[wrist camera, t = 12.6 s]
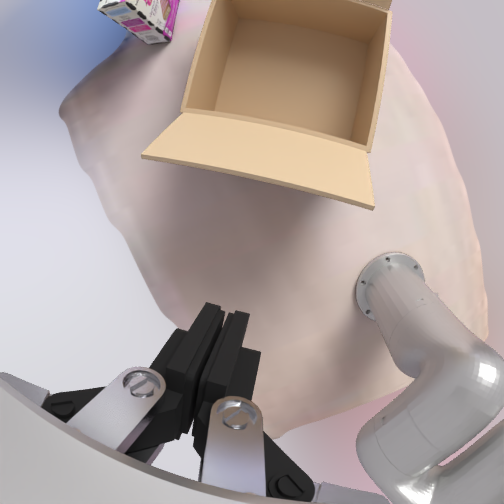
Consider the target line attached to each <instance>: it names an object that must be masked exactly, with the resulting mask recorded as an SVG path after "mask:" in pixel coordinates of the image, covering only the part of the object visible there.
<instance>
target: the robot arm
mask: <svg viewBox="0 0 504 504" xmlns="http://www.w3.org/2000/svg"><path fill="white" fill-rule="evenodd" d="M387 257H388V259H386V258H387ZM414 266H415V267H414ZM361 281H363V282H361ZM356 299H357V302H358V305H359V307H360V309H361V311H362V312H363V313H364V315H365V316H367V317H368V318H370V319H371V320H374V321H376V322H377V324H378V326H379V329H380V331H381V333H382V335H383V338H384V340H385V342H386V344H387V347H388V349H389V351H390V354H391V356H392V359H393V361H394V363H395V365H396V366H397V367H398V369H399V370H400V371H402V372H403V373H404V374H406V375H408V376H410V377H412V378H415V380H414V381H413V382H412V383H411V384H410V385H409V386H408V387H407V388H406V389H405V390H404V391H403V392H402V393H401V394H400V395H398V396H397V397H396V398H395V399H394V400H393V401H392V402H390V403H389V404H388V405H387V406H386V407H384V408H383V409H382V410H381V411H380V412H379V413H377V414H376V415H375V416H374V417H372V419H370V420H369V421H368V422H367V423H366V424H365V425H364V426H363V427H362V428H361V430H360V431H359V433H358V435H357V439H356V451H357V455H358V458H359V460H360V463H361V464H362V466H363V468H364V470H365V471H366V473H367V474H368V475H369V477H370V478H371V479H372V480H373V481H374V482H375V484H376V485H377V486H378V487H379V488H380V489H381V491H382V492H383V493H384V494H385V495H386V496H387V498H388V499H389V500H390V501H391V502H392V503H393V504H504V419H503V420H502V421H500V422H499V423H498V424H497V425H495V426H494V427H493V428H492V429H491V430H489V431H488V432H487V433H486V434H485V435H483V436H482V437H481V438H480V439H479V440H477V441H476V442H475V443H474V444H473V445H471V446H470V447H469V448H468V449H467V450H465V451H464V452H462V453H461V454H460V455H458V457H456V458H455V459H453V460H452V461H450V462H449V463H448V464H446V465H444V466H439V465H438V464H439V463H441V462H442V461H443V460H445V459H446V458H448V457H449V456H450V455H452V454H453V453H455V452H456V451H458V450H459V449H460V448H462V447H463V446H464V445H465V444H466V443H468V442H469V441H470V440H471V439H473V438H474V437H475V436H476V435H477V434H479V433H480V432H481V431H482V430H483V429H484V428H485V427H486V426H487V425H488V424H489V423H490V422H491V421H492V420H493V419H494V418H495V417H496V416H497V415H498V413H499V412H500V411H501V409H502V408H503V407H504V360H503V358H502V357H501V356H500V355H499V354H498V353H497V352H496V351H495V350H494V349H493V348H491V347H490V346H489V345H487V344H486V343H485V342H484V341H482V340H481V339H480V338H478V337H477V336H476V335H475V334H474V333H472V332H471V331H470V330H469V329H468V328H467V327H466V326H465V325H464V324H463V323H462V322H461V321H460V320H459V319H458V318H457V317H456V316H455V315H454V314H453V312H452V311H451V310H450V309H449V308H448V307H447V306H446V305H445V304H444V303H443V302H442V300H441V299H440V298H439V297H438V293H434V292H433V291H432V290H431V289H430V288H429V287H428V286H427V285H426V283H425V277H424V273H423V270H422V268H421V266H420V265H419V264H418V263H417V261H416V260H414V259H413V258H412V257H410V256H409V255H407V254H404V253H400V252H391V253H386V254H383V255H380V256H378V257H377V258H375V259H373V260H372V261H371V262H370V263H368V265H367V266H366V267H365V268H364V269H363V271H362V272H361V274H360V276H359V279H358V281H357V285H356ZM220 309H221V306H218V305H215V304H211V303H207V302H206V303H205V305H204V307H203V308H202V310H201V311H200V313H199V315H198V316H197V318H196V319H195V321H194V323H193V324H192V326H191V328H190V329H189V331H185V330H181V329H178V328H177V329H176V330H175V331H174V333H173V334H172V335H171V337H170V338H169V340H168V341H167V342H166V344H165V345H164V347H163V348H162V350H161V351H160V353H159V354H158V356H157V357H156V358H155V360H154V361H153V363H152V365H151V366H150V367H149V368H145V367H133V368H129V369H127V370H125V371H124V372H122V373H121V374H120V375H119V376H118V377H117V378H116V379H114V380H113V381H112V382H111V383H110V384H109V385H108V386H106V387H99V388H93V389H85V390H77V391H69V392H60V393H56V394H53V395H52V394H50V393H49V390H46V389H44V388H41V387H38V386H36V385H34V384H31V383H29V382H26V381H24V380H22V379H19V378H17V377H15V376H13V375H11V374H8V373H4V372H2V373H0V504H390V503H389V501H388V499H386V498H385V497H384V496H382V495H379V494H377V493H371V492H366V491H360V490H356V489H351V488H347V487H342V486H338V485H334V484H330V483H326V482H322V483H321V484H319V483H316V482H313V481H312V480H311V479H310V477H309V476H308V475H307V474H306V473H305V472H304V471H303V470H301V468H299V466H297V465H296V464H295V463H294V462H293V461H292V460H291V459H290V458H289V457H288V456H287V455H286V454H285V453H284V452H283V451H282V450H281V449H280V448H279V447H278V446H277V445H276V444H275V443H274V442H273V440H272V439H271V438H270V437H269V436H268V435H267V434H266V433H265V432H264V431H263V417H262V413H261V411H260V409H259V408H258V406H257V405H255V404H254V403H253V402H252V401H251V400H252V395H253V390H254V385H255V380H256V376H257V371H258V366H259V361H260V355H261V352H260V351H256V350H252V349H248V348H244V347H242V343H243V339H244V335H245V332H246V328H247V324H248V320H249V315H250V314H248V313H244V312H240V311H237V310H236V311H235V313H234V314H233V313H229V314H228V316H227V318H226V321H225V323H224V325H223V321H224V316H225V311H222V310H220ZM222 326H223V328H222ZM193 419H194V422H193ZM192 422H193V429H192V436H194V443H193V447H194V449H195V450H196V452H197V453H198V454H199V456H200V457H201V462H200V469H199V477H198V481H195V480H191V479H188V478H184V477H181V476H178V475H175V474H173V473H170V472H167V471H164V470H161V469H159V468H156V467H153V466H151V464H152V463H153V461H154V460H155V459H156V457H157V456H158V454H159V453H160V452H161V450H162V449H163V447H164V444H165V443H166V442H170V441H173V440H174V439H177V440H179V439H180V436H181V434H182V433H185V434H188V432H189V429H190V427H191V424H192Z"/></svg>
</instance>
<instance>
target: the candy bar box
mask: <svg viewBox="0 0 504 504" xmlns="http://www.w3.org/2000/svg"><path fill="white" fill-rule="evenodd" d="M178 5H179V0H100V3H99V6H98V9H97V10H98V11H100V12H102V13H103V14H105V15H106V16H108V17H109V18H111V19H112V20H114V21H115V22H117V23H118V24H120V25H121V26H123V27H124V28H126V29H127V30H128V31H130V32H131V33H133V34H134V35H135V36H137V37H138V38H139V39H141V40H142V41H144V42H145V43H146V44H155V43H162V42H170V41H171V40H172V34H173V29H174V23H175V19H176V14H177V9H178Z"/></svg>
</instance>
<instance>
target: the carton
mask: <svg viewBox="0 0 504 504" xmlns="http://www.w3.org/2000/svg"><path fill="white" fill-rule="evenodd" d="M391 20H392V11H389V10H387V9H384V8H381V7H378V6H375V5H372V4H369V3H366V2H363V1H359V0H212V2H211V4H210V7H209V10H208V13H207V16H206V19H205V22H204V25H203V28H202V31H201V35H200V38H199V41H198V45H197V48H196V51H195V55H194V58H193V62H192V66H191V69H190V73H189V77H188V81H187V85H186V89H185V93H184V97H183V101H182V105H181V109H180V112H181V113H183V112H185V113H193V114H201V115H209V116H216V117H223V118H229V119H235V120H241V121H247V122H252V123H257V124H262V125H267V126H272V127H277V128H282V129H286V130H291V131H295V132H299V133H303V134H307V135H311V136H315V137H319V138H323V139H326V140H330V141H334V142H337V143H341V144H344V145H347V146H351V147H354V148H357V149H360V150H364V151H366V152H367V153H370V152H371V148H372V143H373V139H374V134H375V129H376V124H377V119H378V114H379V108H380V103H381V97H382V91H383V85H384V79H385V72H386V65H387V58H388V50H389V42H390V32H391V22H392V21H391Z"/></svg>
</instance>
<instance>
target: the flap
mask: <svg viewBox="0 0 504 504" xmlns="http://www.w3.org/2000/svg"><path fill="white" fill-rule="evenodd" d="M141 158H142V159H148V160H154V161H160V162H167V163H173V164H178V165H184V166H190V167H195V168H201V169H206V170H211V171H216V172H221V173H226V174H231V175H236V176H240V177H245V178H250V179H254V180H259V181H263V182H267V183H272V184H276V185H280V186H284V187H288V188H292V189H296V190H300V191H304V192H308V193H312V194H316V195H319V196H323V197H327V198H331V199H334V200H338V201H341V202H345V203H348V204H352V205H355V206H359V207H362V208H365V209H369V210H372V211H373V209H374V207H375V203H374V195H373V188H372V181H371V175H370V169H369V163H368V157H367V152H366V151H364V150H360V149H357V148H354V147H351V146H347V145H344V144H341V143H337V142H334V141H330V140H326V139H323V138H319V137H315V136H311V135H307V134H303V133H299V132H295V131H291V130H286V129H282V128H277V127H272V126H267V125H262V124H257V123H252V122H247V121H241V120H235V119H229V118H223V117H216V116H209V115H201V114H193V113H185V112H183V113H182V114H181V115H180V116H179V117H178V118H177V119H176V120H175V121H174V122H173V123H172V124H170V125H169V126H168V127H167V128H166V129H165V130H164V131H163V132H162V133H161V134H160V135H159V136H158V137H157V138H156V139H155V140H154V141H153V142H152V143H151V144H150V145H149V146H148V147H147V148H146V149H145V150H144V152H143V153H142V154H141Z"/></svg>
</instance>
